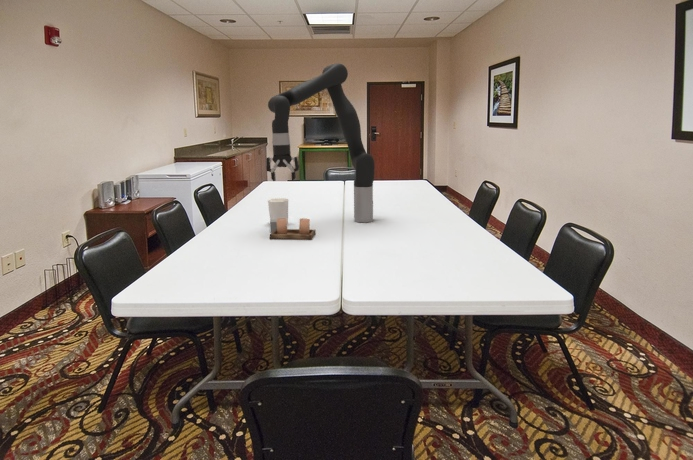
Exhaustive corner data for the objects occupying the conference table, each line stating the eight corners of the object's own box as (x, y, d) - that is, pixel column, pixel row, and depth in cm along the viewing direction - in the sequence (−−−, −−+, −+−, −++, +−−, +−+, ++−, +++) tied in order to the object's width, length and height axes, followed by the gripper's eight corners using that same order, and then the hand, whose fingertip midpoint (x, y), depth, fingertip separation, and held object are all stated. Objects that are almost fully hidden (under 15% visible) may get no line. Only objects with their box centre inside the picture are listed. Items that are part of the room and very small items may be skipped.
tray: (315, 234, 210) (315, 229, 210) (311, 239, 201) (311, 235, 200) (276, 233, 212) (275, 229, 212) (269, 239, 203) (269, 234, 202)
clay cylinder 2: (308, 234, 208) (308, 218, 207) (310, 236, 204) (310, 220, 203) (298, 234, 207) (298, 218, 206) (299, 236, 203) (300, 220, 201)
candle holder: (285, 227, 224) (284, 202, 221) (266, 226, 226) (264, 201, 223) (292, 222, 233) (291, 198, 230) (273, 221, 235) (272, 197, 232)
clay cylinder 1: (287, 233, 209) (286, 217, 207) (287, 236, 205) (286, 220, 203) (277, 233, 209) (276, 218, 207) (277, 236, 205) (276, 220, 203)
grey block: (281, 229, 219) (281, 219, 218) (281, 232, 214) (281, 221, 213) (270, 230, 219) (270, 219, 217) (270, 232, 214) (270, 222, 212)
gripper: (299, 142, 209) (301, 179, 213) (267, 143, 211) (270, 179, 215) (295, 143, 202) (297, 181, 206) (263, 144, 203) (265, 182, 208)
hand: (283, 180), depth 210 cm, fingers open, 8 cm apart
